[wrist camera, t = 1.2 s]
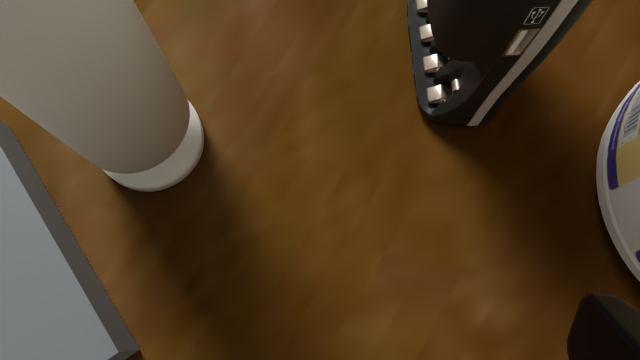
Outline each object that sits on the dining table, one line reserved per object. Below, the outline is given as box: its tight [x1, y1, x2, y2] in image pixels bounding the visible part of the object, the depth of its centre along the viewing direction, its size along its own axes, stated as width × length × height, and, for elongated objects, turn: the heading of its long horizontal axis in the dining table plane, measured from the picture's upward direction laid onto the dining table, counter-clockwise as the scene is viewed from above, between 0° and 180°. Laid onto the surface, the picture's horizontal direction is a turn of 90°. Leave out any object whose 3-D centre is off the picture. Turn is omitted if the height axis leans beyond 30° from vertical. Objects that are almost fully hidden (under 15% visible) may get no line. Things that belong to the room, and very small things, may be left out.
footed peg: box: [0, 0, 204, 192], centre depth 15 cm, size 4×4×16 cm
